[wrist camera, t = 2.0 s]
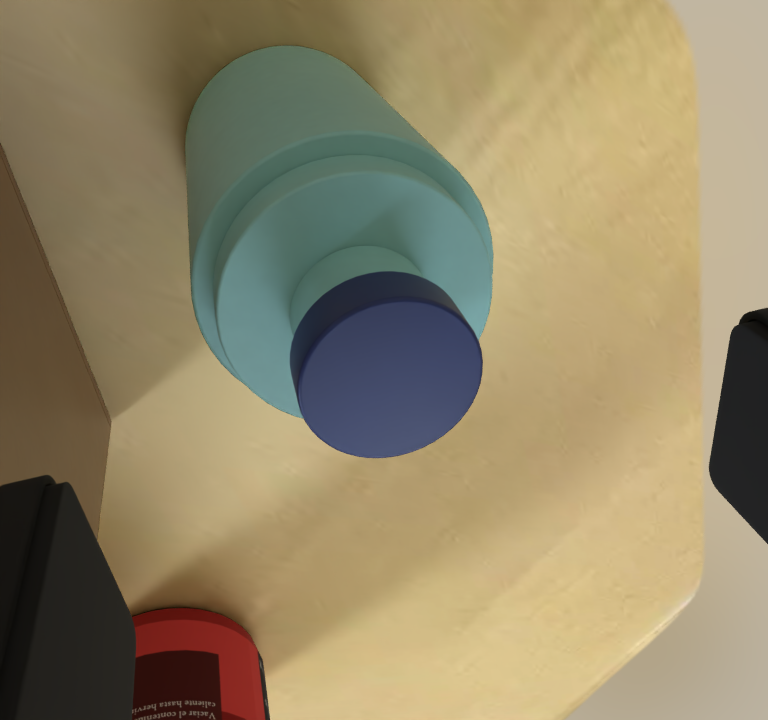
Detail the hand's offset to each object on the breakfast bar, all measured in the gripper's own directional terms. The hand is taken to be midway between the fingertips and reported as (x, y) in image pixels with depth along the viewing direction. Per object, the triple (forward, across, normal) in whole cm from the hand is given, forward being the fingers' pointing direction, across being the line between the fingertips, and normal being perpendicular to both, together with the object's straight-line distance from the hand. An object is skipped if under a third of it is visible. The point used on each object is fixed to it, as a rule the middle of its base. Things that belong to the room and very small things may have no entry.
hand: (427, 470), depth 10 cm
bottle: (+14, 0, -1) cm, 14 cm away
